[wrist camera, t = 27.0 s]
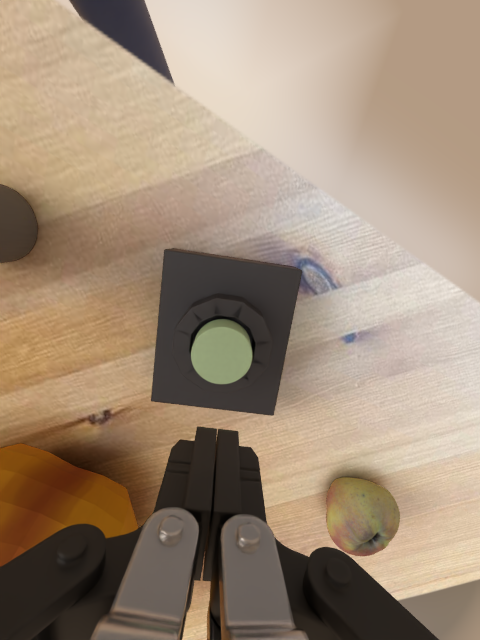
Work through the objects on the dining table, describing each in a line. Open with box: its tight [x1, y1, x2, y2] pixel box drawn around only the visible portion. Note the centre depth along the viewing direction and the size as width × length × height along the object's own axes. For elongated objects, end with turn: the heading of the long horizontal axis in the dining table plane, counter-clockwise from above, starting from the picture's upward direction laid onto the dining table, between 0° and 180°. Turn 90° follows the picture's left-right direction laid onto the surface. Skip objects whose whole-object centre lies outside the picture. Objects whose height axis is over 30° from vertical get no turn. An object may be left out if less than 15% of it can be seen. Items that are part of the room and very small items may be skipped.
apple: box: [326, 477, 400, 556], centre depth 28 cm, size 6×8×6 cm
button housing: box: [151, 248, 302, 415], centre depth 24 cm, size 12×10×5 cm
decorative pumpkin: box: [0, 443, 138, 567], centre depth 23 cm, size 20×22×15 cm
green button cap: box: [191, 319, 252, 384], centre depth 21 cm, size 4×4×2 cm
